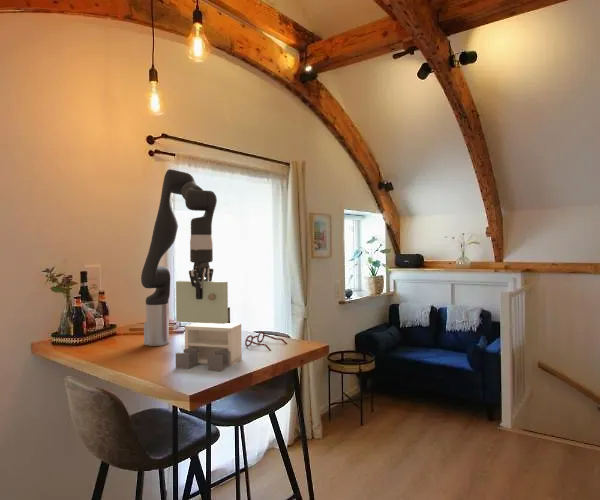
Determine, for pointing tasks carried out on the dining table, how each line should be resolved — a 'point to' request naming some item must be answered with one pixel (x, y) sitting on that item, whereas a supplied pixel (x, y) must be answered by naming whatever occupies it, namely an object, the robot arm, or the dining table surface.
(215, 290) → the door
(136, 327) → the dining table surface
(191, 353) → the cabinet
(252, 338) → the glasses
